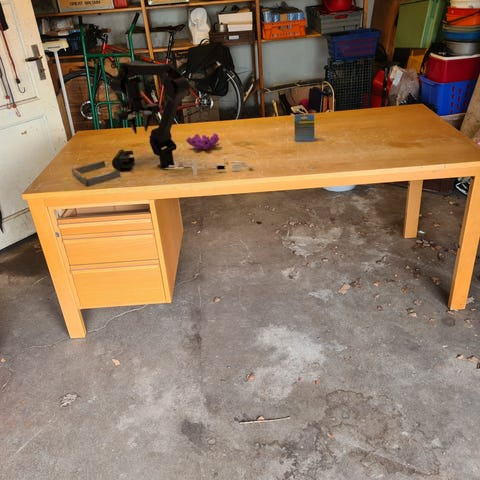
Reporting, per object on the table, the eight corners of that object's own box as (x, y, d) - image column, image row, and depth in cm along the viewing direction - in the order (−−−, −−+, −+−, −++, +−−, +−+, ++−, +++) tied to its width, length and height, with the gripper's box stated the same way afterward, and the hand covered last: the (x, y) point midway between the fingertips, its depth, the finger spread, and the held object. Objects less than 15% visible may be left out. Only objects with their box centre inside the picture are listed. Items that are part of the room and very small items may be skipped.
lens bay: (120, 176, 186) (119, 170, 185) (87, 186, 179) (85, 179, 178) (104, 166, 198) (103, 160, 197) (72, 175, 191) (71, 168, 190)
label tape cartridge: (314, 138, 212) (314, 111, 206) (314, 141, 209) (314, 114, 203) (294, 139, 213) (294, 112, 207) (294, 142, 210) (294, 115, 204)
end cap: (119, 164, 199) (116, 149, 196) (135, 163, 199) (132, 148, 196) (113, 173, 191) (110, 157, 187) (130, 172, 190) (127, 156, 187)
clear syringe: (164, 176, 181) (166, 170, 192) (252, 174, 183) (250, 168, 194) (162, 160, 179) (165, 155, 190) (252, 158, 181) (250, 153, 192)
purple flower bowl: (219, 156, 210) (216, 144, 201) (187, 157, 212) (182, 145, 203) (221, 135, 214) (218, 123, 205) (189, 136, 216) (185, 124, 207)
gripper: (146, 87, 196) (152, 124, 204) (104, 95, 187) (112, 133, 195) (158, 91, 188) (164, 128, 196) (115, 99, 179) (123, 139, 187)
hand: (140, 132), depth 193 cm, fingers open, 4 cm apart
